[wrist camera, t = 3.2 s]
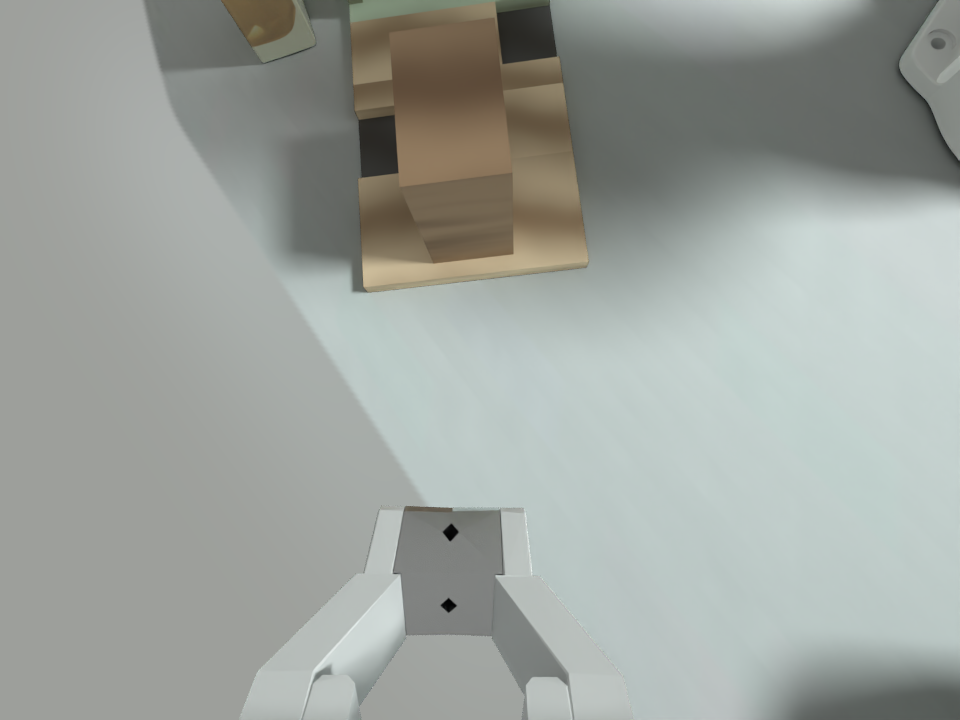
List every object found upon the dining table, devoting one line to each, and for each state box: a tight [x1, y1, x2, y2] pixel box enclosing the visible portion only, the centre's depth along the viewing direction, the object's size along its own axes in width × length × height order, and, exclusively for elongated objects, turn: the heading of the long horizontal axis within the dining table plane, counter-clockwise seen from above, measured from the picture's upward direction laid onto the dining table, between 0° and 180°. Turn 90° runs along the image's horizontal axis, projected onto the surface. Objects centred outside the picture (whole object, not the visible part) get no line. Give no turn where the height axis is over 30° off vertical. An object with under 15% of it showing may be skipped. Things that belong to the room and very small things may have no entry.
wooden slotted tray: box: [348, 0, 589, 292], centre depth 31 cm, size 26×14×4 cm, turn 5°
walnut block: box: [389, 18, 514, 264], centre depth 26 cm, size 8×5×9 cm, turn 5°
